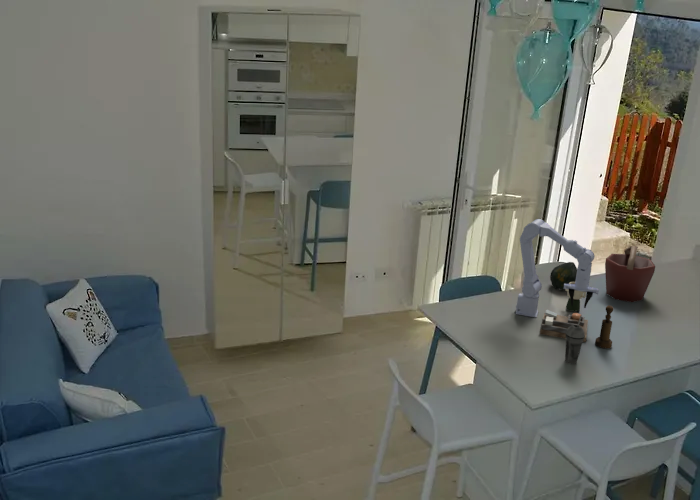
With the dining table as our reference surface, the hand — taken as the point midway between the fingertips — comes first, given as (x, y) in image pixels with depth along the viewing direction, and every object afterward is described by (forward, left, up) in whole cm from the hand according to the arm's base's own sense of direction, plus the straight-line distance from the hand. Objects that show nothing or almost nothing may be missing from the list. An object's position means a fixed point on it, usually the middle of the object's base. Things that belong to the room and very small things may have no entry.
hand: (578, 306), depth 305 cm
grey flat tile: (-11, 0, -6) cm, 13 cm away
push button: (0, 0, -6) cm, 6 cm away
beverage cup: (0, -37, -10) cm, 38 cm away
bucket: (+22, +49, -10) cm, 55 cm away
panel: (-5, -6, -9) cm, 12 cm away
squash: (-8, +46, -10) cm, 48 cm away
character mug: (-2, +18, -10) cm, 20 cm away
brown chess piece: (+12, -16, -10) cm, 22 cm away
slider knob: (-11, -11, -7) cm, 17 cm away
